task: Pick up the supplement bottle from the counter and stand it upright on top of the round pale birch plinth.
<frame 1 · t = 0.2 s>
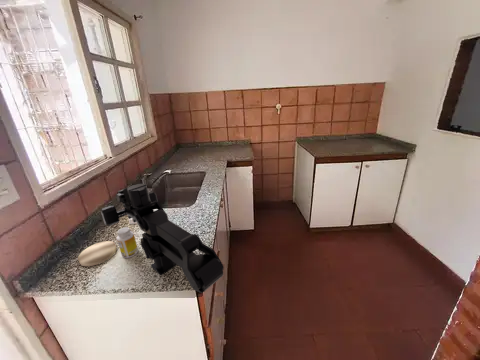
hand: (123, 202, 83), 16 cm above the worktop, tool horizontal, fingers open, 9 cm apart
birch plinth: (98, 254, 80), on the worktop
supplement bottle: (130, 253, 80), on the worktop
soap: (141, 221, 102), on the worktop
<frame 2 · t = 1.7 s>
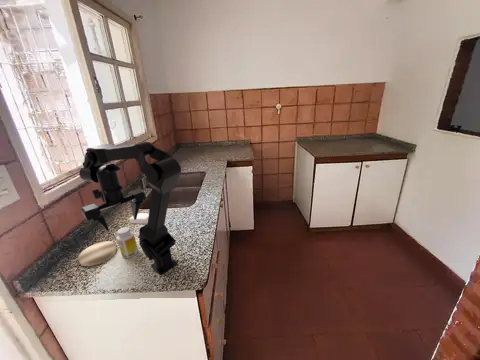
hand: (122, 224, 76), 12 cm above the worktop, tool pointing down, fingers open, 9 cm apart
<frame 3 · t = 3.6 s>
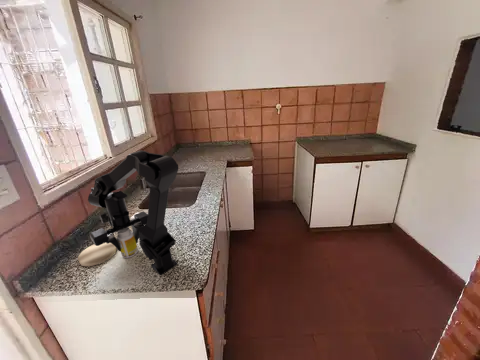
hand: (128, 246, 79), 3 cm above the worktop, tool pointing down, fingers closed on supplement bottle, 6 cm apart
supplement bottle: (130, 253, 80), on the worktop, touching gripper
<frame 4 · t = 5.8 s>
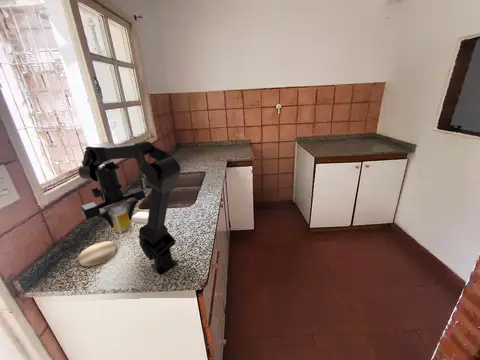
hand: (121, 223, 75), 13 cm above the worktop, tool pointing down, fingers closed on supplement bottle, 6 cm apart
supplement bottle: (123, 231, 77), point 10 cm above the worktop, touching gripper
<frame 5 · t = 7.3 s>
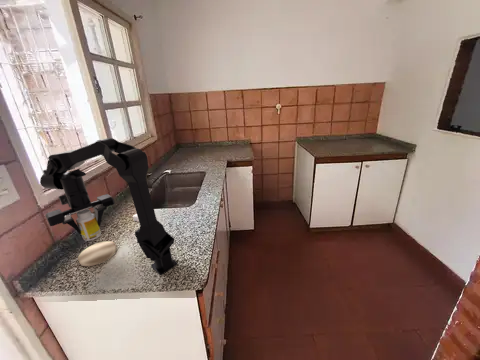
hand: (90, 229, 77), 11 cm above the worktop, tool pointing down, fingers closed on supplement bottle, 6 cm apart
supplement bottle: (92, 237, 78), point 8 cm above the worktop, touching gripper
when the fingers open (6 cm above the worktop, at t = 8.5 s): supplement bottle drops 1 cm, resting on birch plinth.
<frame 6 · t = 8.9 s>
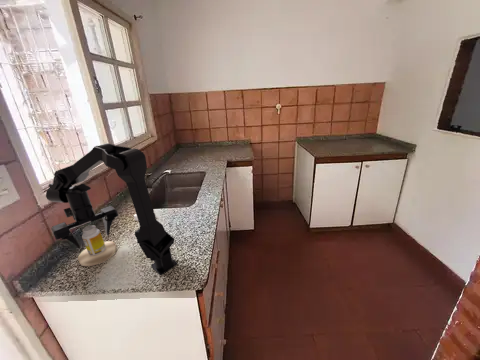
hand: (94, 241, 78), 6 cm above the worktop, tool pointing down, fingers open, 9 cm apart
supplement bottle: (97, 251, 80), point 1 cm above the worktop, touching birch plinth
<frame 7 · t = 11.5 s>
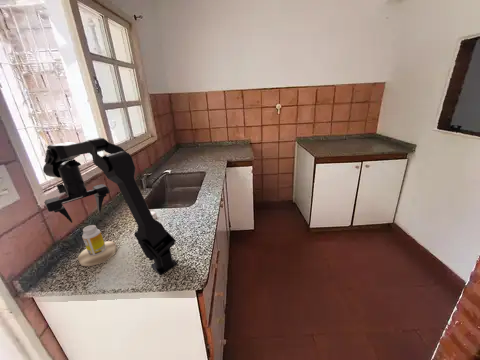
hand: (86, 217, 82), 13 cm above the worktop, tool pointing down, fingers open, 9 cm apart
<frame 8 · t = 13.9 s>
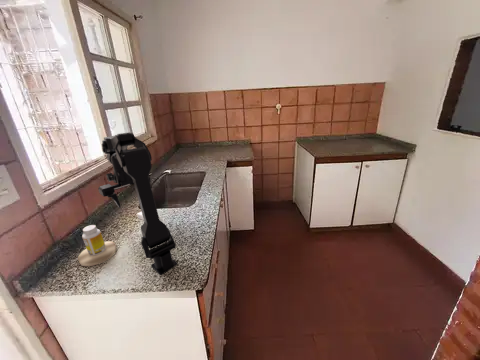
hand: (131, 203, 91), 13 cm above the worktop, tool pointing down, fingers open, 9 cm apart
at the end: supplement bottle 0.1 cm off-centre on the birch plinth, point 1.3 cm above the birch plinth's base; supplement bottle tilted 0°; the gripper is holding nothing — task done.
